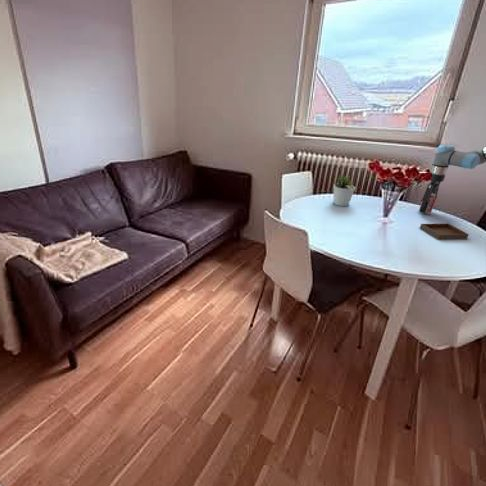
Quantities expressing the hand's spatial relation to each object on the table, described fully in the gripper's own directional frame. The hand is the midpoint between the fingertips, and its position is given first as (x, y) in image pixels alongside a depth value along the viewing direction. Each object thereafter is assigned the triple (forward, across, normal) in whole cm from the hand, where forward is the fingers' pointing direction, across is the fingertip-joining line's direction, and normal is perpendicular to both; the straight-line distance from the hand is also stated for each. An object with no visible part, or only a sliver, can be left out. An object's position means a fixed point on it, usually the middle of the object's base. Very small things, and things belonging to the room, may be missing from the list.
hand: (425, 210), depth 183 cm
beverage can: (+2, 0, 0) cm, 2 cm away
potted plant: (+2, +26, -40) cm, 47 cm away
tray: (+2, +24, +16) cm, 29 cm away
